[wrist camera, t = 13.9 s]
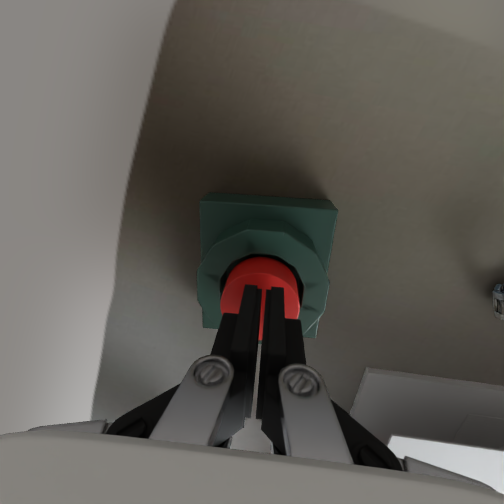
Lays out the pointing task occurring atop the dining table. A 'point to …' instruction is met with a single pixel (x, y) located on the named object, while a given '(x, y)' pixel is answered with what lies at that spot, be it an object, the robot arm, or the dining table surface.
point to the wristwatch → (498, 301)
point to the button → (260, 286)
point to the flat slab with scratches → (436, 421)
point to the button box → (266, 247)
